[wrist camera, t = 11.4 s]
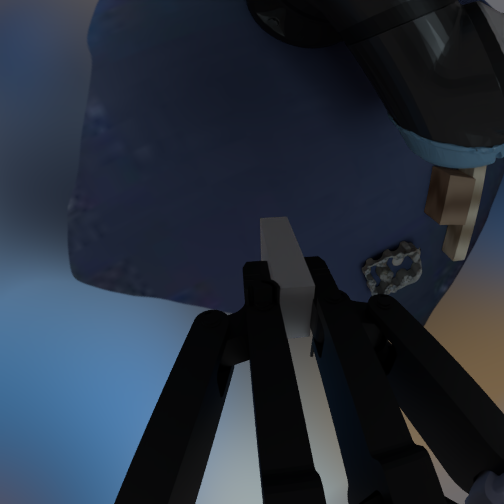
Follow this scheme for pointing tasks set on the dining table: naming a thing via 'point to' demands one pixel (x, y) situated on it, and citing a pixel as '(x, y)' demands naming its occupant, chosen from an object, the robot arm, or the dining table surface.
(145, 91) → the dining table surface
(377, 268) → the egg carton
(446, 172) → the block
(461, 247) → the board
